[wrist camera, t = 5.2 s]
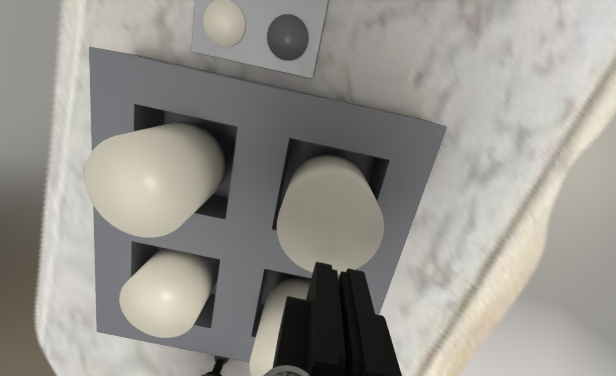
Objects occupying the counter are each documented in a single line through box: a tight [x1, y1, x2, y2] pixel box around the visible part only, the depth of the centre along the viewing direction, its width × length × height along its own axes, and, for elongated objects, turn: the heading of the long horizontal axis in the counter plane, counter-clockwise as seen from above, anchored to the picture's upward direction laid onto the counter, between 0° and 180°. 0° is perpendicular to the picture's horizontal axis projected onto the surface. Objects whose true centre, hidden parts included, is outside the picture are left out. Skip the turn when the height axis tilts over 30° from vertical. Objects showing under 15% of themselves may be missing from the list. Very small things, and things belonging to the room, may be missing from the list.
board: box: [89, 47, 447, 362], centre depth 21 cm, size 20×20×4 cm
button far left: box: [119, 247, 220, 338], centre depth 21 cm, size 5×5×5 cm
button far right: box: [249, 278, 311, 376], centre depth 19 cm, size 5×5×5 cm
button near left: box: [85, 122, 226, 238], centre depth 16 cm, size 5×5×5 cm
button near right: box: [277, 154, 384, 275], centre depth 16 cm, size 5×5×5 cm
